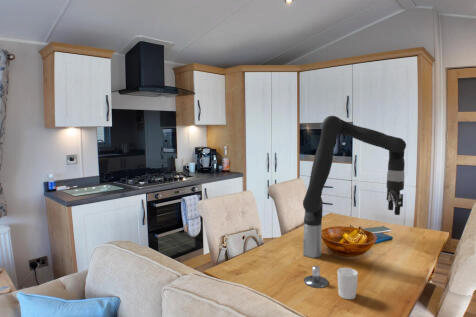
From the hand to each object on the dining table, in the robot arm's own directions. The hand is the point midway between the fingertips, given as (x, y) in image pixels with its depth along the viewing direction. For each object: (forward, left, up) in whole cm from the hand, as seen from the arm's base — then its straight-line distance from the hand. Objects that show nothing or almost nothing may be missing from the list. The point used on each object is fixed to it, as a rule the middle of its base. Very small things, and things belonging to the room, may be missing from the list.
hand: (393, 212), depth 155 cm
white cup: (-22, -35, -27) cm, 49 cm away
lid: (-35, -27, -27) cm, 52 cm away
